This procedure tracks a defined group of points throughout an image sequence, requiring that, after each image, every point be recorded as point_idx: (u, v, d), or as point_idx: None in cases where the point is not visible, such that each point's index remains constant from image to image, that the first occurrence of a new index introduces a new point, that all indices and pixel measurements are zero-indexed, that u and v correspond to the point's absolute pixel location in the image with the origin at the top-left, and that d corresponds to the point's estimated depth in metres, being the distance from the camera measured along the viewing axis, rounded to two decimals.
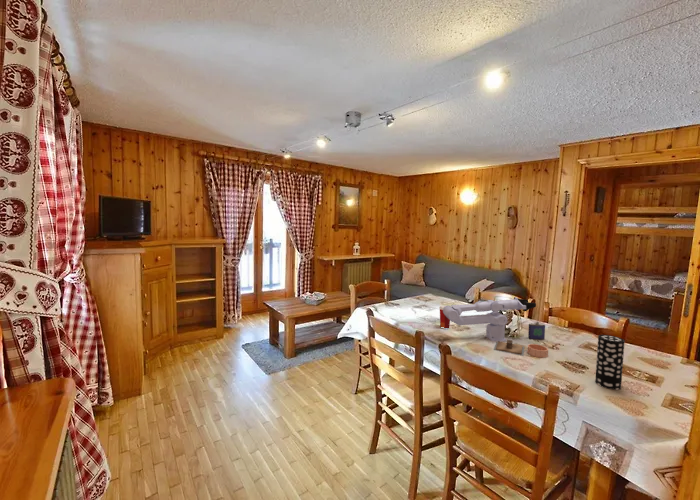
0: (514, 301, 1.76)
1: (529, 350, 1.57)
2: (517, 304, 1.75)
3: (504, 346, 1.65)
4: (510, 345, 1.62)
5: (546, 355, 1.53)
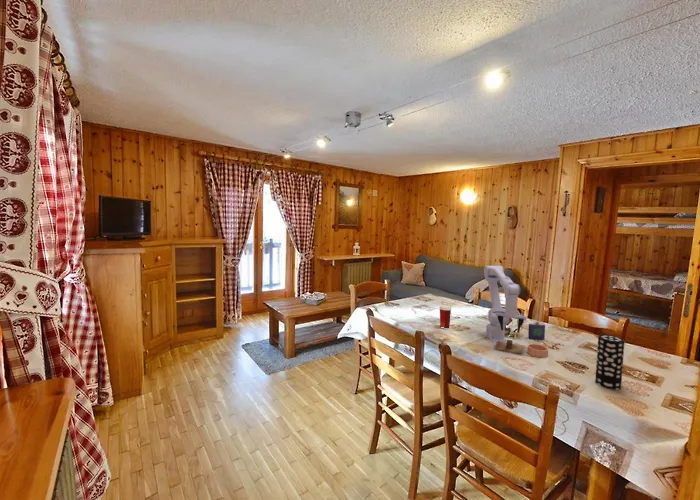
0: (507, 312, 1.62)
1: (529, 350, 1.57)
2: (505, 313, 1.64)
3: (504, 346, 1.65)
4: (510, 345, 1.62)
5: (546, 355, 1.53)
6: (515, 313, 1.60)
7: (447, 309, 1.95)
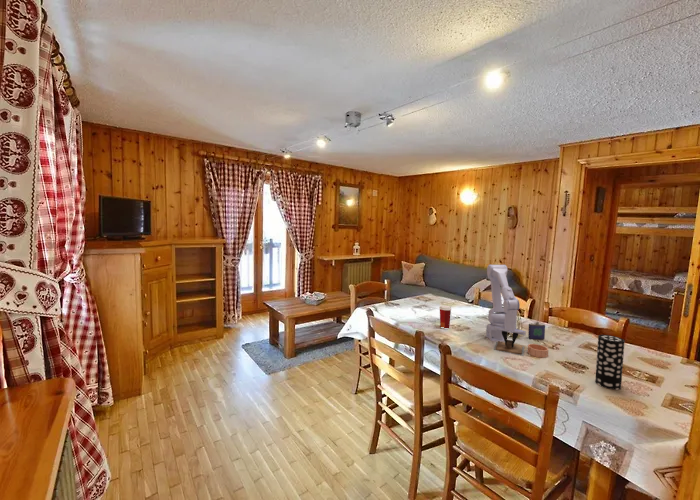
0: (506, 326, 1.62)
1: (529, 350, 1.57)
2: (504, 327, 1.64)
3: (504, 346, 1.65)
4: (510, 345, 1.62)
5: (546, 355, 1.53)
6: (514, 328, 1.61)
7: (447, 309, 1.95)
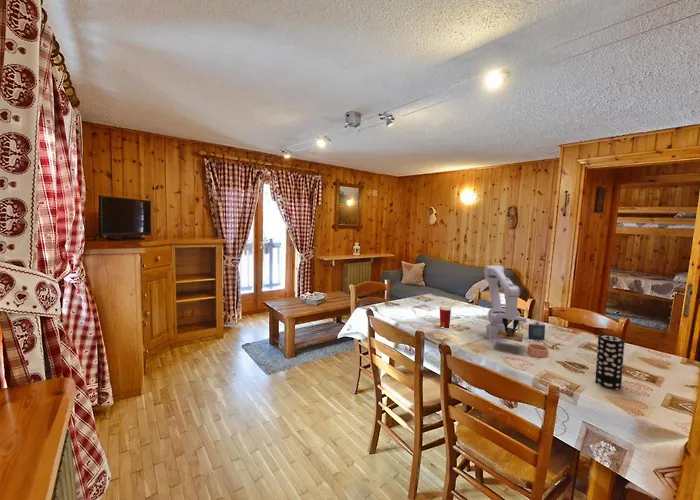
0: (507, 313, 1.62)
1: (529, 350, 1.57)
2: (505, 314, 1.64)
3: (505, 334, 1.64)
4: (511, 333, 1.61)
5: (546, 355, 1.53)
6: (515, 315, 1.60)
7: (447, 309, 1.95)
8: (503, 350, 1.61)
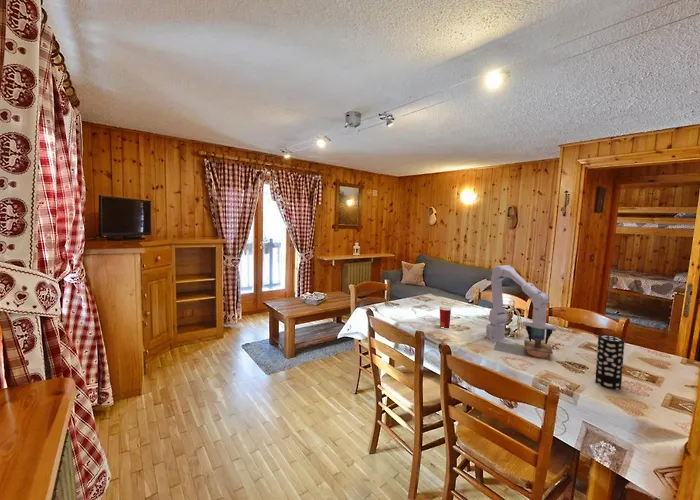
0: (535, 322, 1.55)
1: (530, 350, 1.56)
2: (532, 323, 1.57)
3: (533, 345, 1.57)
4: (539, 344, 1.54)
5: (546, 355, 1.54)
6: (544, 323, 1.53)
7: (447, 309, 1.95)
8: (503, 350, 1.61)
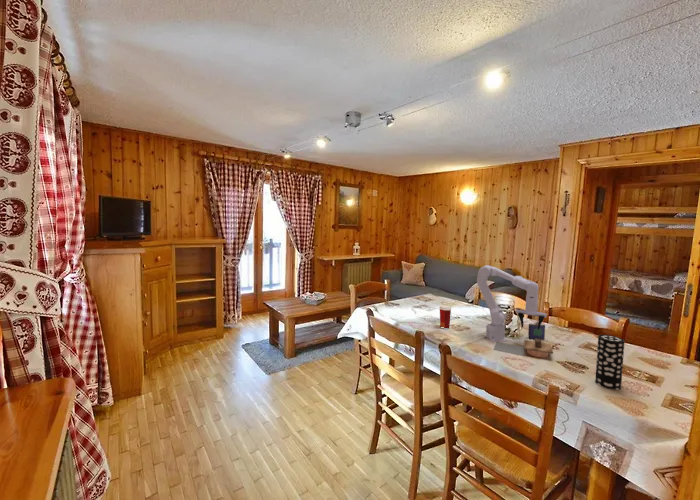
0: (527, 309, 1.67)
1: (530, 350, 1.56)
2: (525, 310, 1.69)
3: (533, 345, 1.57)
4: (539, 344, 1.54)
5: (546, 355, 1.54)
6: (535, 310, 1.66)
7: (447, 309, 1.95)
8: (503, 350, 1.61)
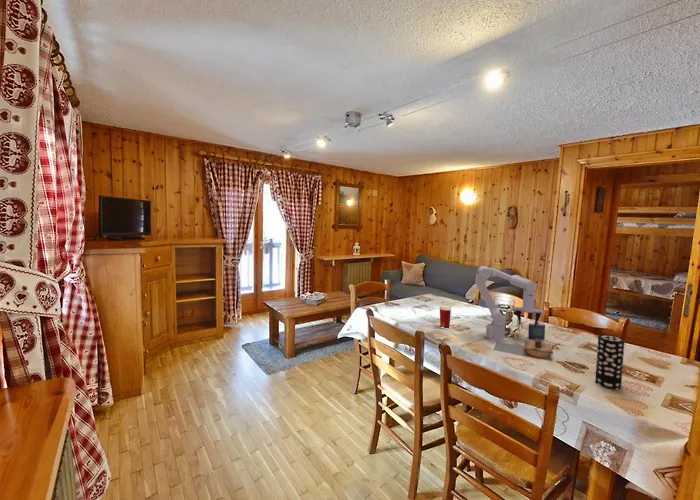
0: (524, 306, 1.73)
1: (530, 350, 1.56)
2: None
3: (533, 345, 1.58)
4: (540, 344, 1.54)
5: (546, 355, 1.54)
6: (532, 308, 1.71)
7: (447, 309, 1.95)
8: (503, 350, 1.61)
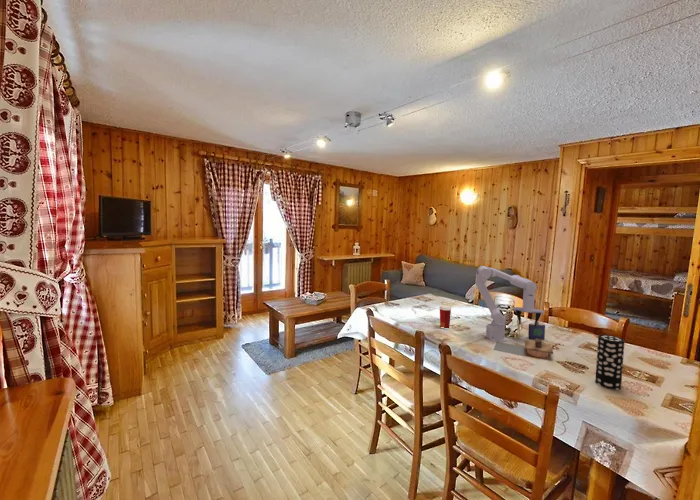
0: (524, 306, 1.73)
1: (530, 350, 1.56)
2: None
3: (533, 345, 1.58)
4: (540, 344, 1.54)
5: (546, 355, 1.54)
6: (532, 308, 1.71)
7: (447, 309, 1.95)
8: (503, 350, 1.61)
